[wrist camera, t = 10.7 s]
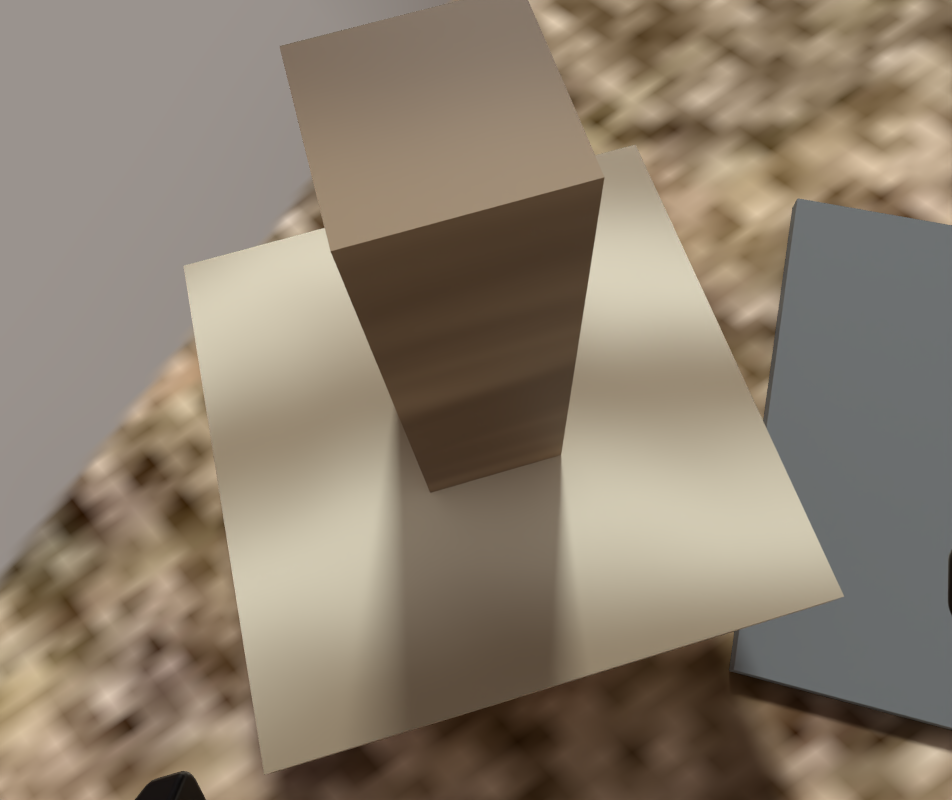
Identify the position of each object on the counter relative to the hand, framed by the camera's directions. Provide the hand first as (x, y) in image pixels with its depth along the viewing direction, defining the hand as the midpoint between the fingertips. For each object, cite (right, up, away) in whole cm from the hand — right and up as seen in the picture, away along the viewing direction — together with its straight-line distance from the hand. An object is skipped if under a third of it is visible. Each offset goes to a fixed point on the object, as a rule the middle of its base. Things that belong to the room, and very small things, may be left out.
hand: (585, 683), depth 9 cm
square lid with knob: (-1, +3, +10) cm, 10 cm away
